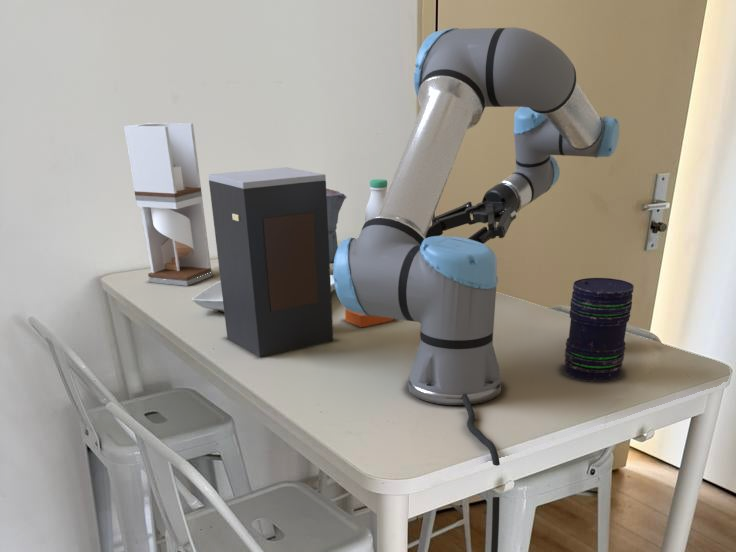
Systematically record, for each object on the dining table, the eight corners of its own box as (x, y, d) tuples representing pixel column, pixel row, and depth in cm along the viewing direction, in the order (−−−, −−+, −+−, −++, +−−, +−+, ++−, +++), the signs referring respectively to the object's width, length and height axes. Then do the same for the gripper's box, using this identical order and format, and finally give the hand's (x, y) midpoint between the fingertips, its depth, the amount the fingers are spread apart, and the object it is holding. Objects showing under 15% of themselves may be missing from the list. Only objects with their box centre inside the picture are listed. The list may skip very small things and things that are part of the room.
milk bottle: (397, 259, 211) (397, 180, 201) (371, 262, 209) (370, 182, 199) (387, 253, 218) (386, 177, 207) (361, 256, 215) (359, 179, 205)
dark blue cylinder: (628, 368, 135) (641, 281, 128) (612, 385, 128) (625, 295, 120) (573, 359, 140) (583, 275, 132) (554, 375, 132) (564, 287, 125)
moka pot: (344, 264, 207) (341, 184, 197) (289, 262, 210) (284, 183, 199) (353, 256, 215) (350, 179, 205) (300, 255, 218) (295, 178, 207)
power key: (424, 304, 172) (424, 293, 171) (441, 310, 168) (441, 299, 167) (345, 320, 162) (344, 309, 161) (361, 327, 158) (360, 315, 156)
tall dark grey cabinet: (297, 324, 160) (286, 167, 145) (333, 341, 150) (326, 174, 135) (226, 338, 152) (206, 174, 137) (259, 357, 142) (242, 182, 127)
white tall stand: (149, 282, 193) (123, 126, 175) (175, 272, 201) (152, 122, 183) (187, 285, 189) (165, 126, 171) (211, 276, 197) (193, 123, 180)
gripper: (553, 219, 165) (490, 268, 157) (468, 211, 182) (407, 254, 174) (549, 185, 161) (483, 233, 152) (461, 179, 177) (398, 222, 169)
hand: (442, 244), depth 163 cm, fingers open, 13 cm apart
